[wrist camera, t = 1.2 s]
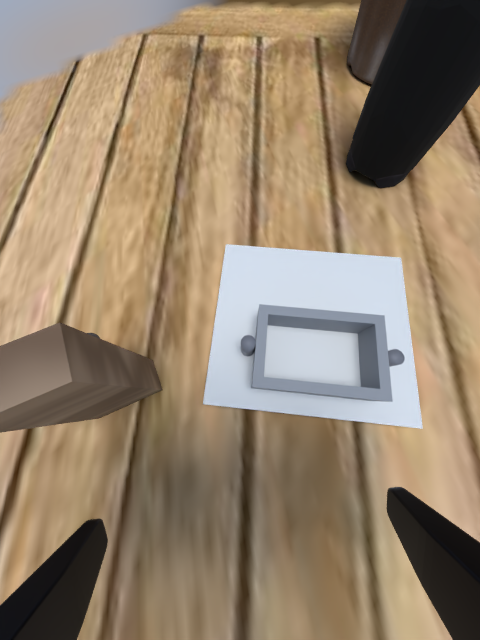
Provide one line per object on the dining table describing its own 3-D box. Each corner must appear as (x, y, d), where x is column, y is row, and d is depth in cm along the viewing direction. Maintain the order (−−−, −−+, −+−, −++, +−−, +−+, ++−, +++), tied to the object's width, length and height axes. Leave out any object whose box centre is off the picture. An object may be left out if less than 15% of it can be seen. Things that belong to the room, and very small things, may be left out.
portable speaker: (420, 154, 30) (698, -229, 12) (395, 203, 28) (698, -179, 9) (358, 131, 32) (518, -241, 13) (329, 176, 29) (477, -202, 11)
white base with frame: (410, 426, 20) (454, 434, 16) (205, 403, 21) (196, 405, 17) (392, 265, 25) (422, 238, 21) (226, 252, 26) (223, 224, 22)
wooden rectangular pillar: (162, 389, 22) (72, 381, 10) (99, 418, 21) (-72, 442, 10) (149, 350, 23) (56, 304, 12) (89, 376, 22) (-74, 354, 11)
